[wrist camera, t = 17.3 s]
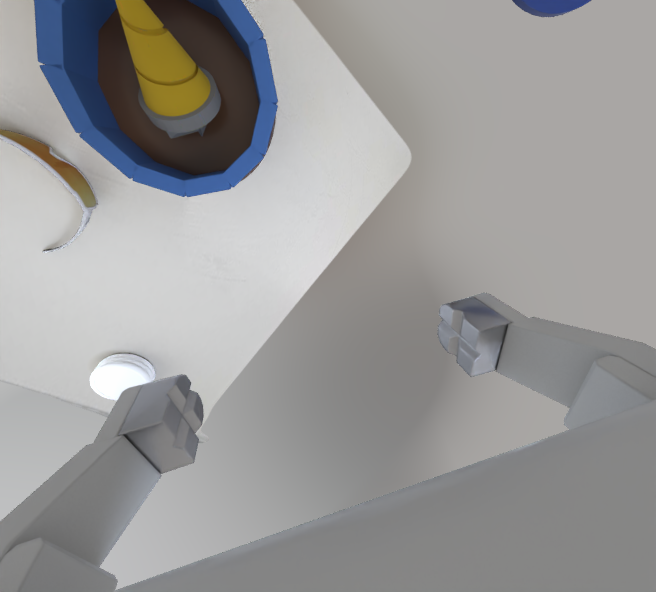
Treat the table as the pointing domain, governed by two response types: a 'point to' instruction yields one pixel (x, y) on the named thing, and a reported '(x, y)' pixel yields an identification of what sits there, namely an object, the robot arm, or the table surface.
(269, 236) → the table surface
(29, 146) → the sunglasses
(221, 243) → the table surface
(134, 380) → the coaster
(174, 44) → the yellow tiered cone
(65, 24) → the blue segmented ring
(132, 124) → the stand
